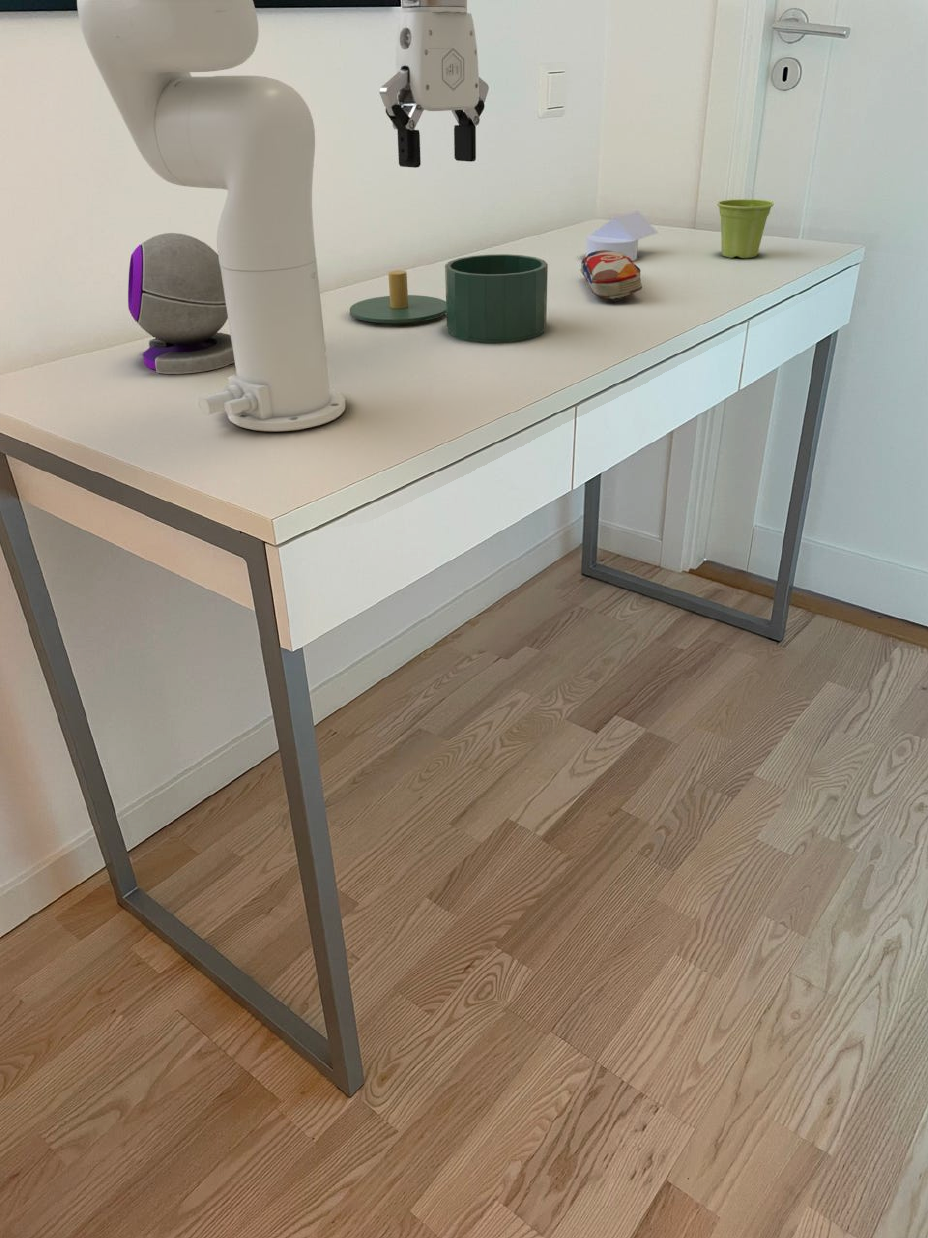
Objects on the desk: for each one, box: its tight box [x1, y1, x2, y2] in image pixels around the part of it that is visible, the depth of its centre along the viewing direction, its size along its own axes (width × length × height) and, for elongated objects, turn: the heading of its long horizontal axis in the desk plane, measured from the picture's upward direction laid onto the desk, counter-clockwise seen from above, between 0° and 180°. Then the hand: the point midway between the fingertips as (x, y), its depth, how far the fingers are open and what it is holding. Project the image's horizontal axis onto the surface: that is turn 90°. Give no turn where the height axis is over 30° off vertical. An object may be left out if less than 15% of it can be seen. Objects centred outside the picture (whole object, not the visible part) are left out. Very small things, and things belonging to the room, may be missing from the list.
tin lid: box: [349, 269, 446, 325], centre depth 136 cm, size 14×14×6 cm
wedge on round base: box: [585, 210, 659, 262], centre depth 168 cm, size 9×7×13 cm
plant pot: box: [716, 198, 775, 259], centre depth 165 cm, size 9×9×9 cm
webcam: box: [127, 232, 235, 375], centre depth 117 cm, size 13×13×15 cm
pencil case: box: [579, 250, 643, 302], centre depth 146 cm, size 11×20×5 cm, turn 166°
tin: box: [444, 253, 549, 344], centre depth 127 cm, size 13×14×8 cm
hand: (438, 163), depth 117 cm, fingers open, 9 cm apart
